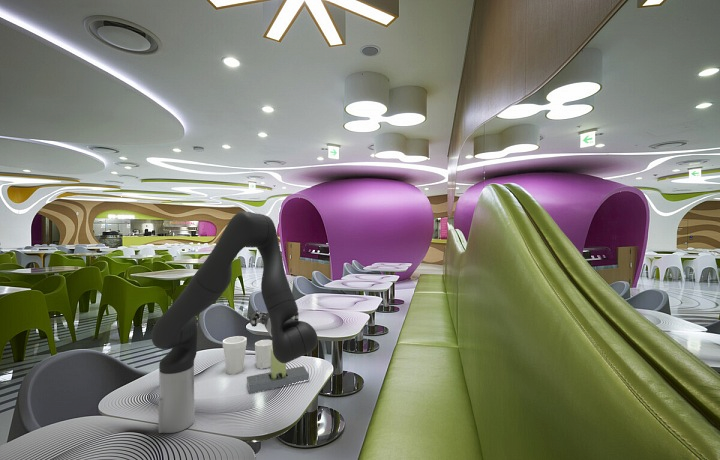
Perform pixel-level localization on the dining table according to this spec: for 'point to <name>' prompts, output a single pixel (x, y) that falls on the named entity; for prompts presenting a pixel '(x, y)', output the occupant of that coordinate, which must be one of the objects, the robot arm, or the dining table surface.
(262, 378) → the grey flat block
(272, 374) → the olive green rectangular block
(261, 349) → the white cup
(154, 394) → the dining table surface
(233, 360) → the foam cup
